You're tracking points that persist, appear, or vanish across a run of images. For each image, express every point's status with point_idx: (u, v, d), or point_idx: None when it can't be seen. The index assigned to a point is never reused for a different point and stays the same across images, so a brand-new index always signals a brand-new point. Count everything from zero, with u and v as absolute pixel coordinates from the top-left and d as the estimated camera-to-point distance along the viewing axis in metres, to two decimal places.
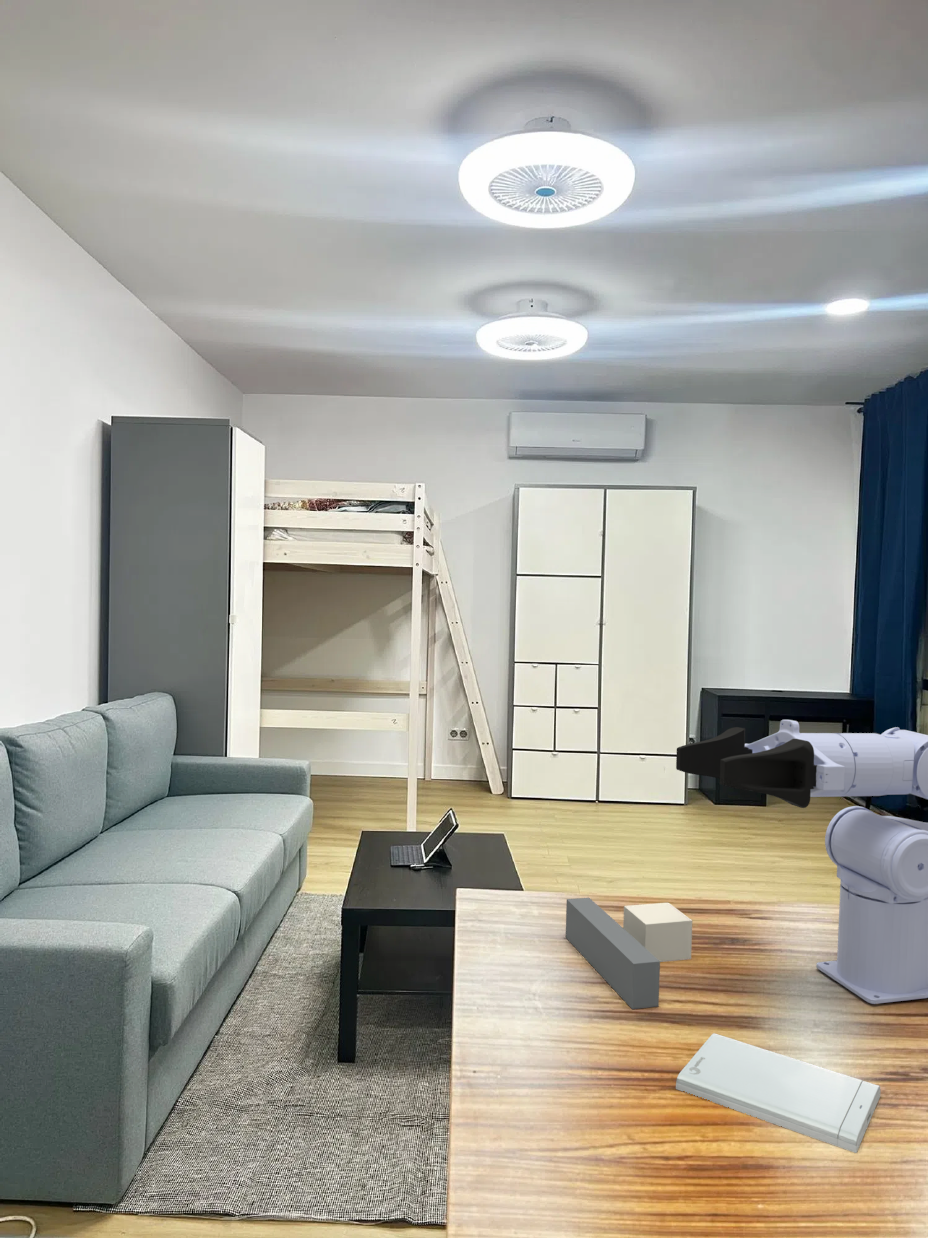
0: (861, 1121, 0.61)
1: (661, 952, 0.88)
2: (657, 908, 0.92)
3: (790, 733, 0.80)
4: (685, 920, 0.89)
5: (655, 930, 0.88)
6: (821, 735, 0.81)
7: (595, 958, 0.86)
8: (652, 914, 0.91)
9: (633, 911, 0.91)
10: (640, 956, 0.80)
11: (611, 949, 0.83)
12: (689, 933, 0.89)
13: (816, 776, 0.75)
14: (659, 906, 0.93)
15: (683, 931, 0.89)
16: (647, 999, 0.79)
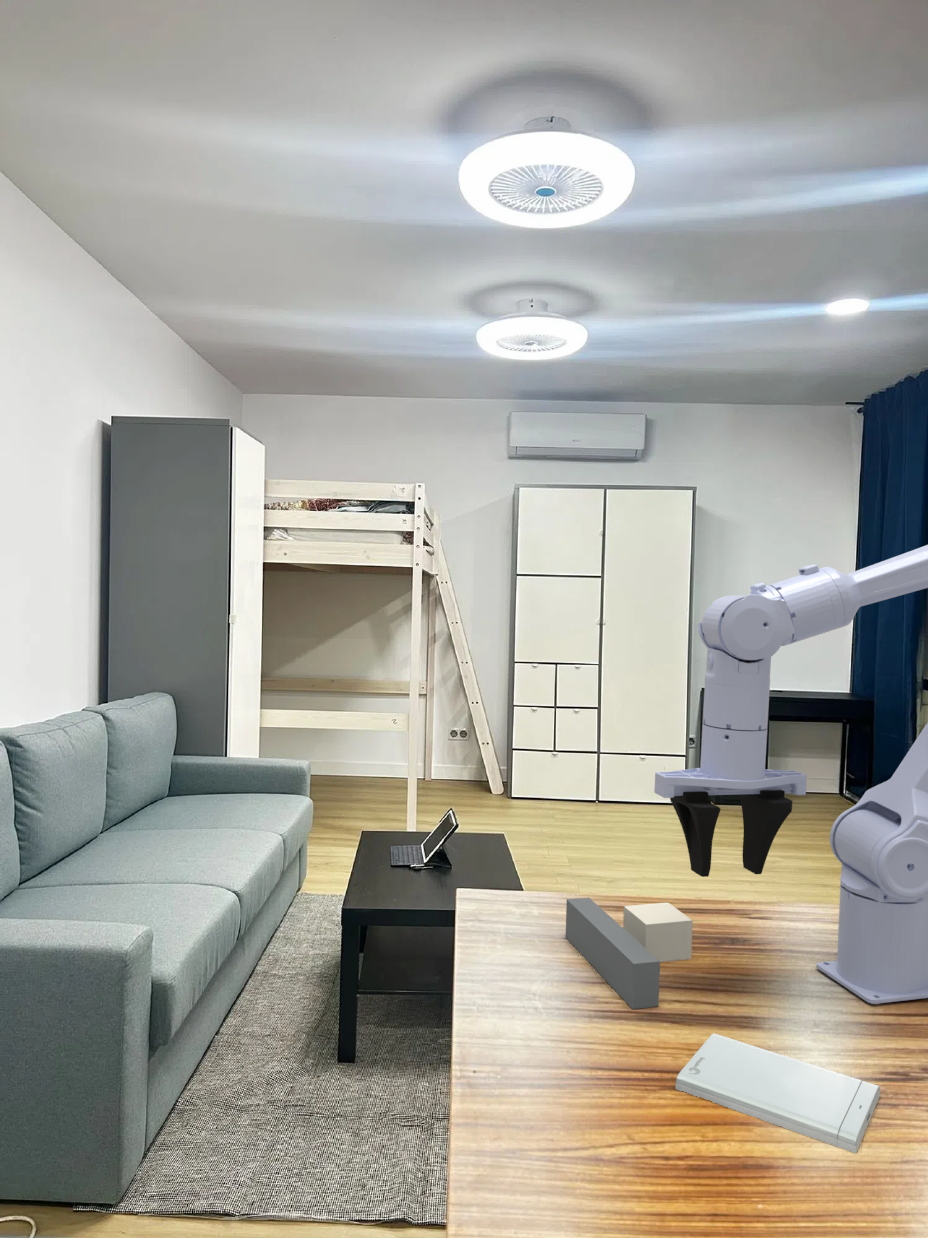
0: (861, 1121, 0.61)
1: (661, 952, 0.88)
2: (657, 908, 0.92)
3: None
4: (685, 920, 0.89)
5: (656, 930, 0.88)
6: None
7: (595, 958, 0.86)
8: (652, 914, 0.91)
9: (633, 911, 0.91)
10: (640, 956, 0.80)
11: (611, 949, 0.83)
12: (689, 933, 0.89)
13: None
14: (658, 906, 0.93)
15: (683, 930, 0.89)
16: (647, 999, 0.79)
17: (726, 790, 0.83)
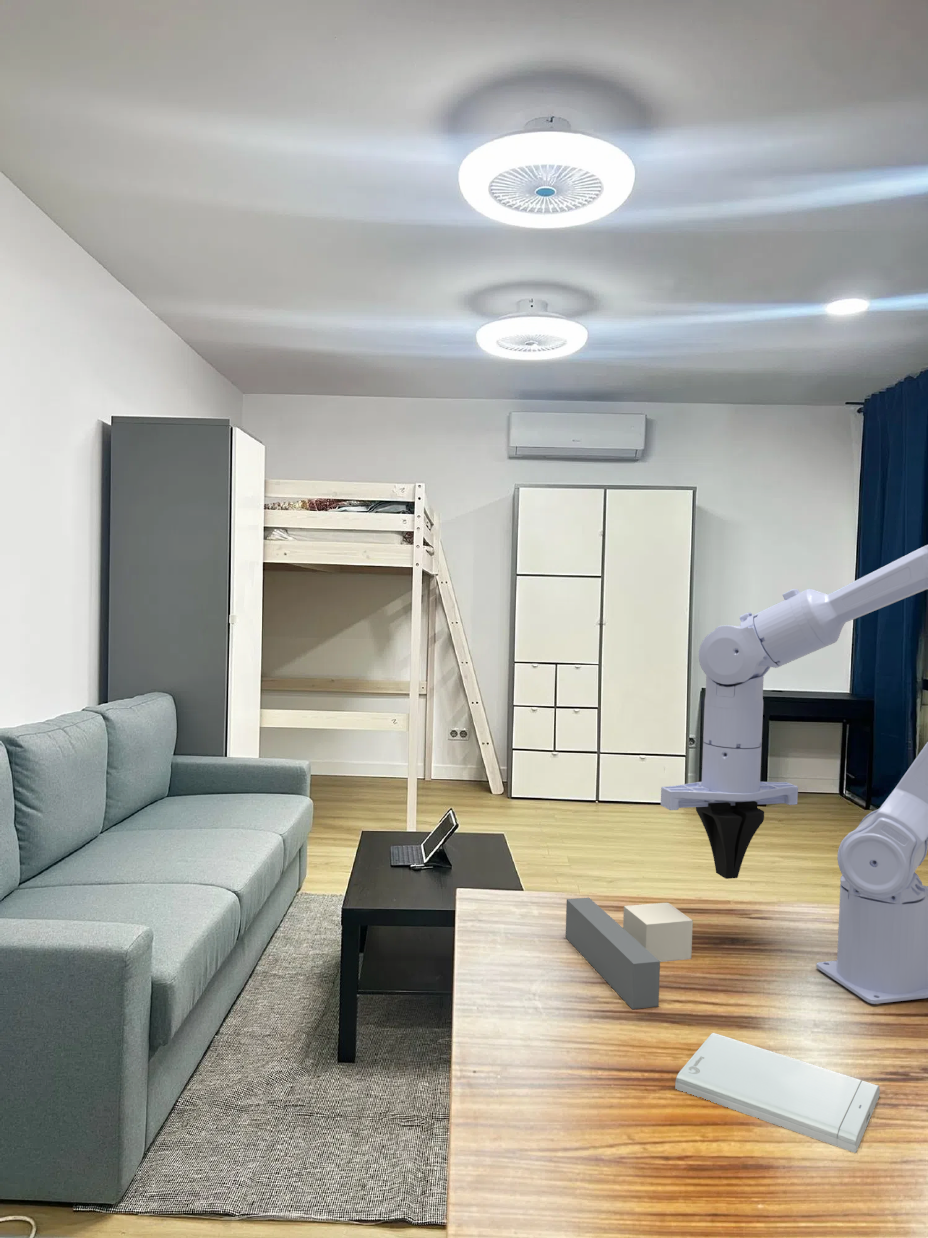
0: (861, 1120, 0.61)
1: (662, 952, 0.88)
2: (657, 908, 0.92)
3: None
4: (685, 920, 0.89)
5: (656, 930, 0.88)
6: None
7: (595, 958, 0.86)
8: (652, 914, 0.91)
9: (634, 911, 0.91)
10: (640, 956, 0.80)
11: (611, 949, 0.83)
12: (689, 933, 0.89)
13: None
14: (658, 906, 0.93)
15: (683, 931, 0.89)
16: (647, 999, 0.79)
17: (725, 802, 0.92)
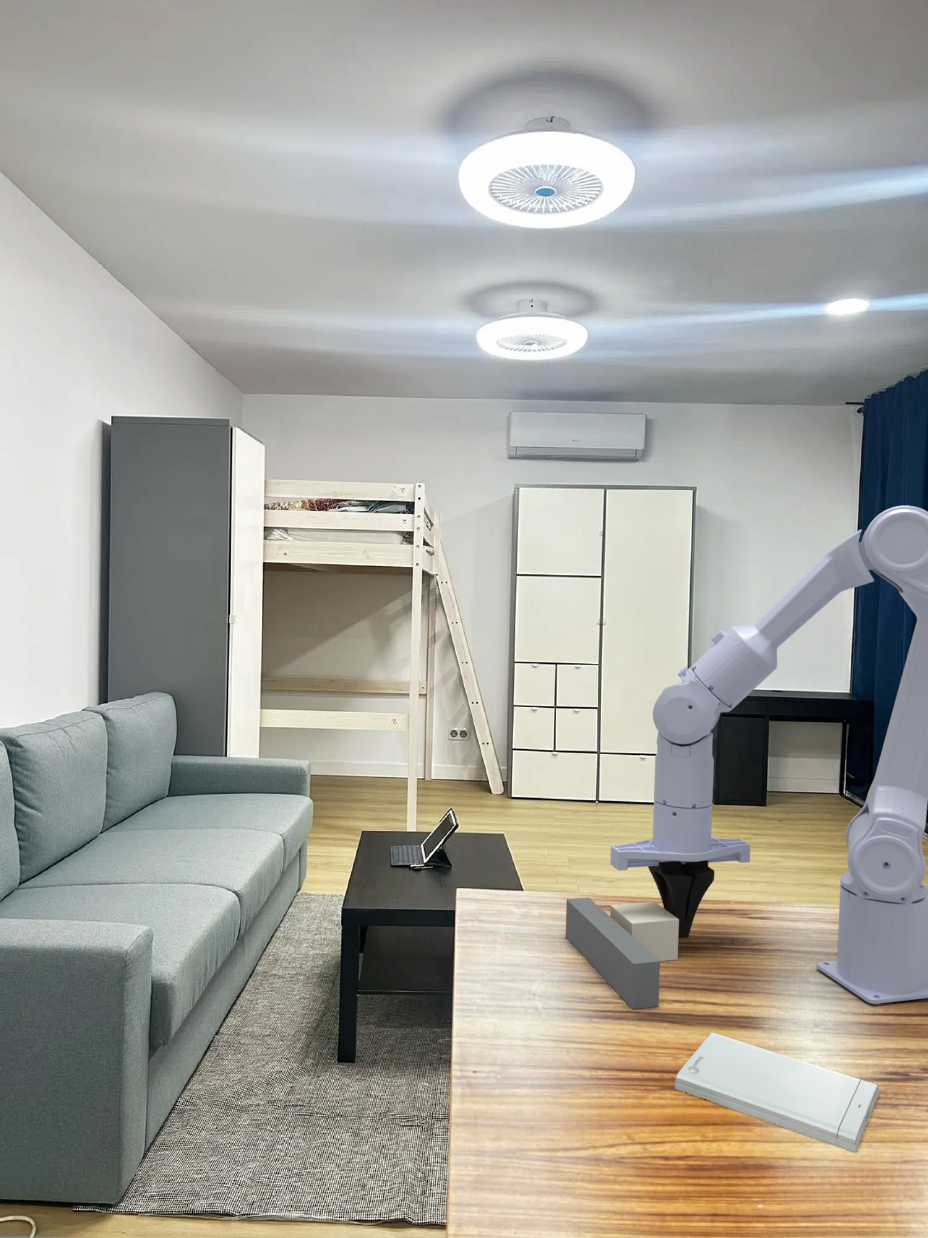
0: (860, 1120, 0.61)
1: None
2: (644, 907, 0.92)
3: None
4: (672, 919, 0.89)
5: (642, 929, 0.88)
6: None
7: (595, 958, 0.86)
8: (639, 913, 0.90)
9: (620, 910, 0.91)
10: (640, 956, 0.80)
11: (611, 949, 0.83)
12: (676, 932, 0.89)
13: None
14: (645, 905, 0.93)
15: (669, 930, 0.89)
16: (647, 999, 0.79)
17: (676, 860, 0.91)
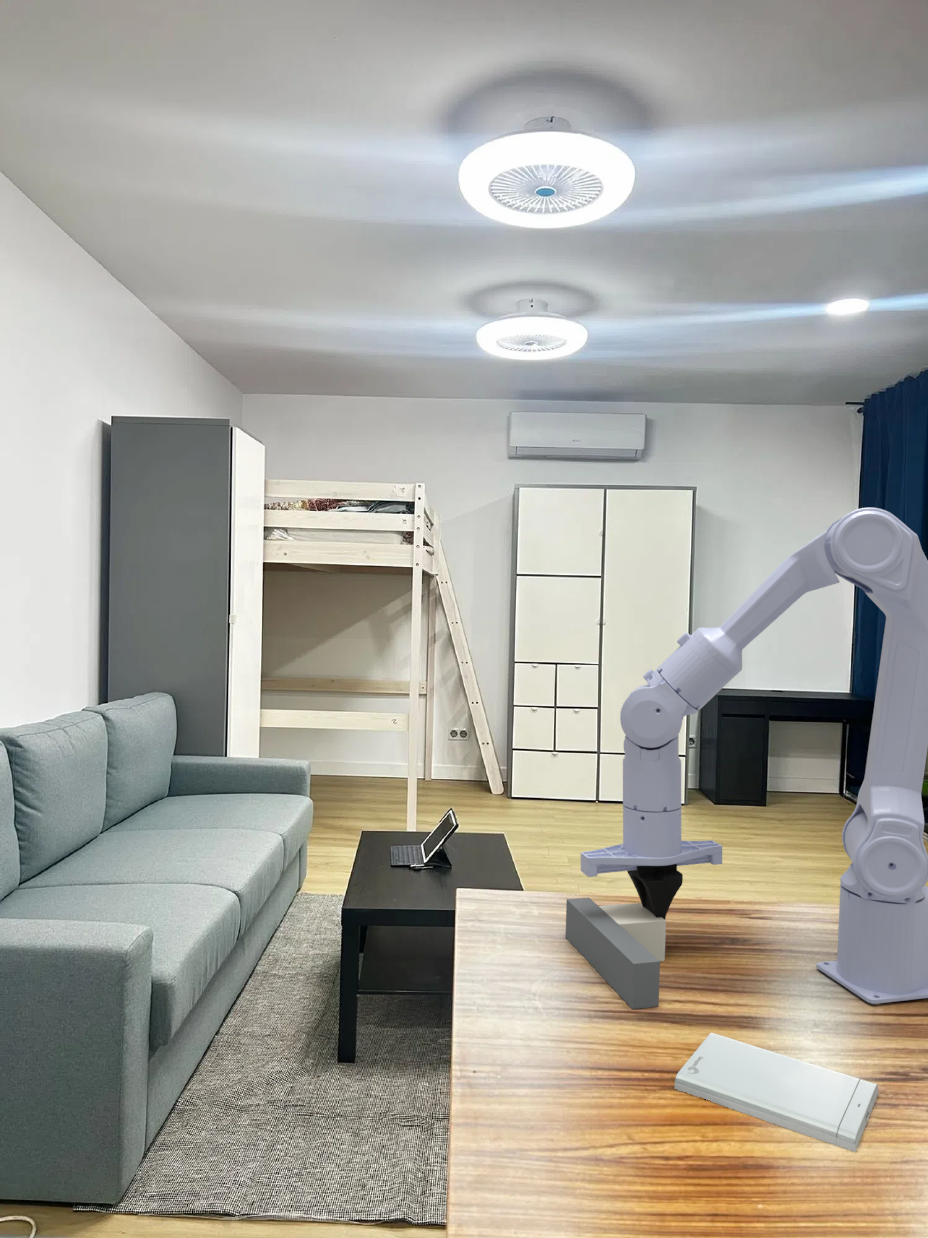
0: (860, 1119, 0.61)
1: None
2: (632, 908, 0.91)
3: None
4: (659, 920, 0.88)
5: (628, 930, 0.87)
6: None
7: (595, 958, 0.86)
8: (626, 914, 0.90)
9: (608, 911, 0.91)
10: (640, 956, 0.80)
11: (611, 949, 0.83)
12: (663, 933, 0.88)
13: None
14: (634, 906, 0.92)
15: (656, 931, 0.88)
16: (647, 999, 0.79)
17: None
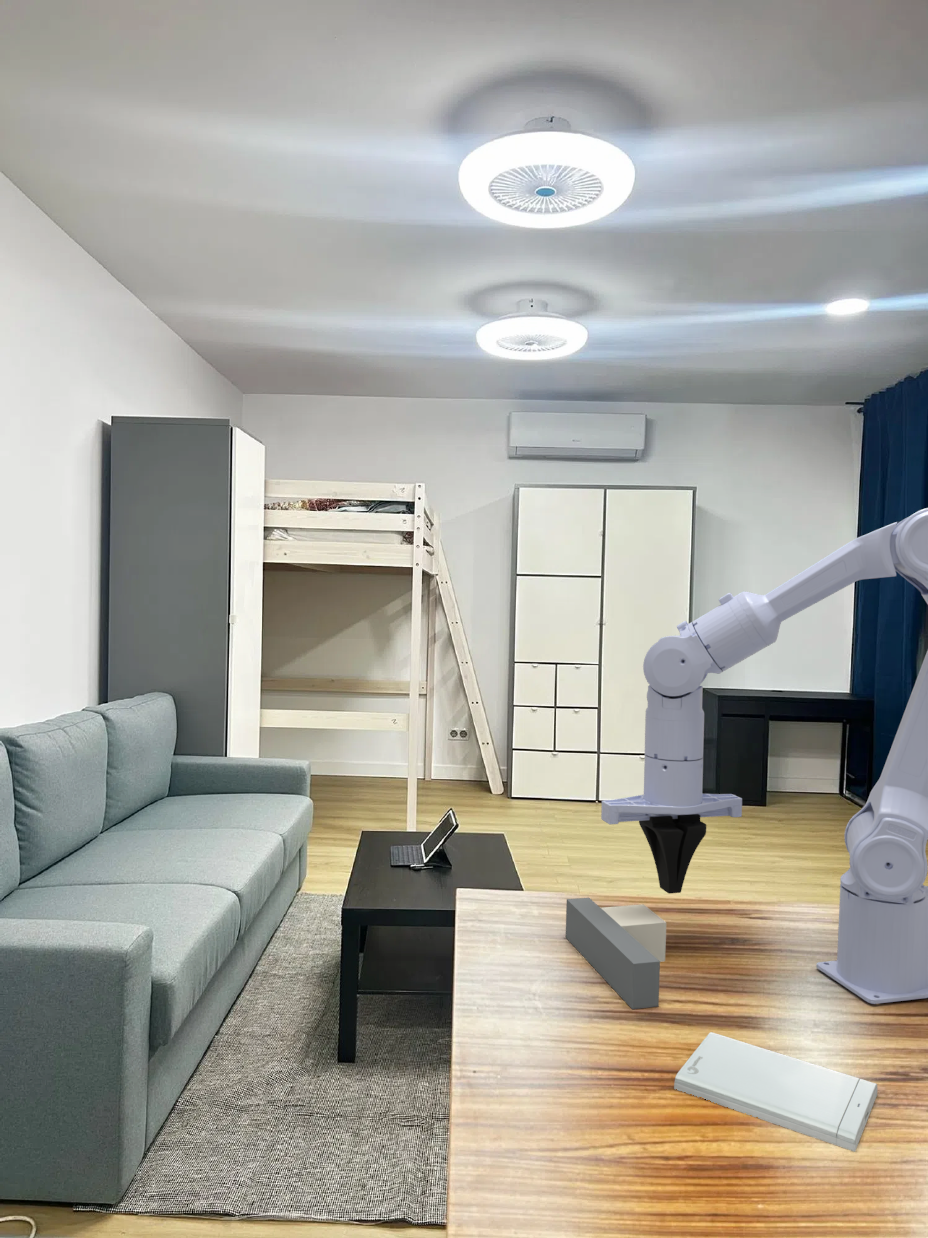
0: (860, 1119, 0.61)
1: None
2: (632, 910, 0.91)
3: None
4: (659, 922, 0.88)
5: (629, 932, 0.87)
6: None
7: (595, 958, 0.86)
8: (626, 915, 0.90)
9: (608, 913, 0.91)
10: (640, 956, 0.80)
11: (611, 949, 0.83)
12: (663, 935, 0.88)
13: None
14: (634, 907, 0.92)
15: (656, 933, 0.88)
16: (647, 999, 0.79)
17: (667, 815, 0.90)
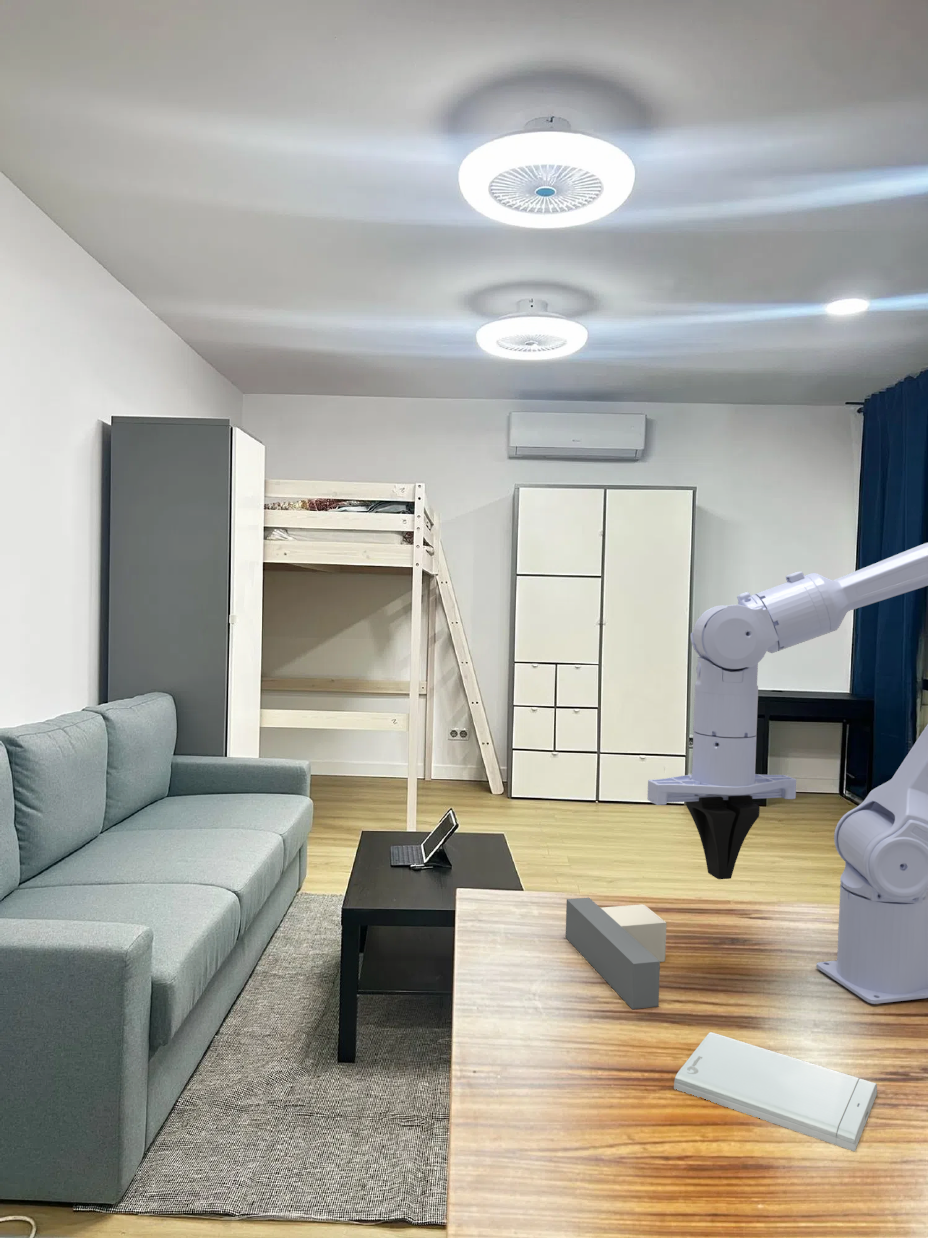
0: (859, 1119, 0.61)
1: None
2: (632, 910, 0.91)
3: None
4: (659, 922, 0.88)
5: (629, 932, 0.87)
6: None
7: (595, 958, 0.86)
8: (626, 915, 0.90)
9: (608, 913, 0.91)
10: (640, 956, 0.80)
11: (611, 949, 0.83)
12: (663, 935, 0.88)
13: None
14: (634, 907, 0.92)
15: (656, 933, 0.88)
16: (647, 999, 0.79)
17: (717, 796, 0.85)
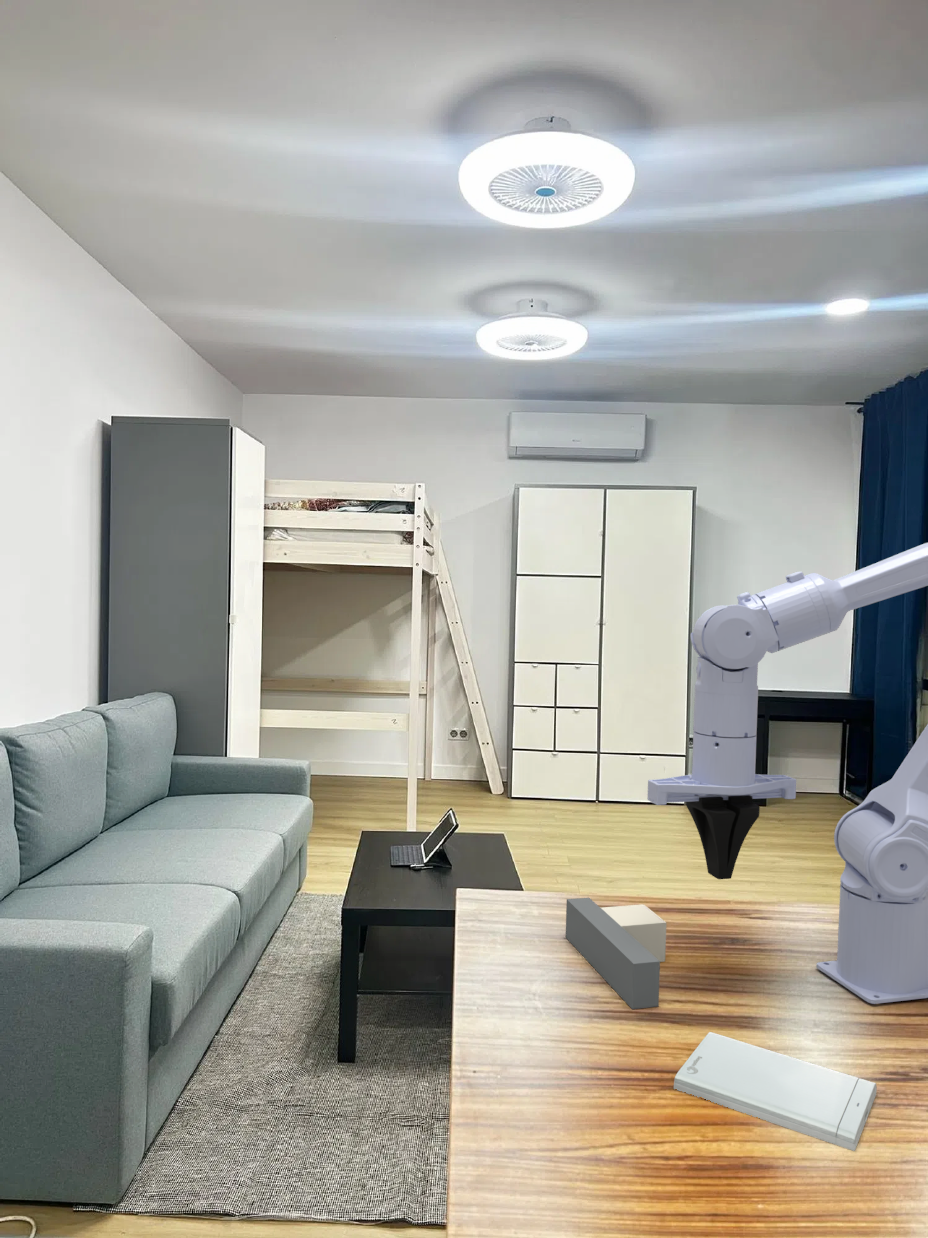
0: (859, 1119, 0.61)
1: None
2: (632, 910, 0.91)
3: None
4: (659, 922, 0.88)
5: (629, 932, 0.87)
6: None
7: (595, 958, 0.86)
8: (626, 915, 0.90)
9: (608, 913, 0.91)
10: (640, 956, 0.80)
11: (611, 949, 0.83)
12: (663, 935, 0.88)
13: None
14: (634, 907, 0.92)
15: (656, 933, 0.88)
16: (647, 999, 0.79)
17: (717, 796, 0.85)
